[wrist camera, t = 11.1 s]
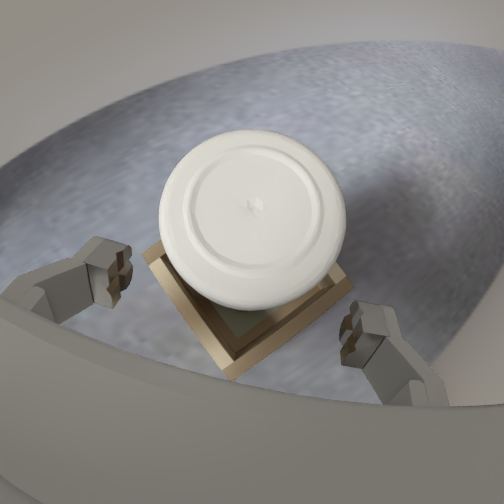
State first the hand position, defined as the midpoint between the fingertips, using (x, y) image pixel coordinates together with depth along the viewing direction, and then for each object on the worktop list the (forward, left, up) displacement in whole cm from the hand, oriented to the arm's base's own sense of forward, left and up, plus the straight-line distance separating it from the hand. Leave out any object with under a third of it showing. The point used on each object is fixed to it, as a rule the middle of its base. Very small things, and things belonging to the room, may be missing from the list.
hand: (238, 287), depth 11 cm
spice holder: (-1, +1, -10) cm, 10 cm away
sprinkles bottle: (-1, +1, -9) cm, 10 cm away
